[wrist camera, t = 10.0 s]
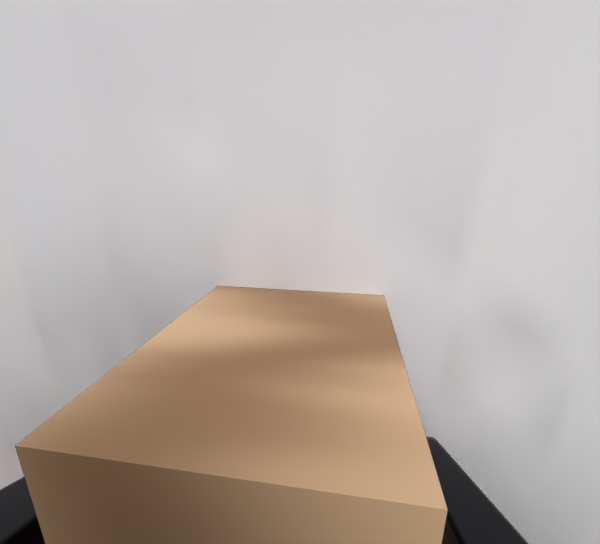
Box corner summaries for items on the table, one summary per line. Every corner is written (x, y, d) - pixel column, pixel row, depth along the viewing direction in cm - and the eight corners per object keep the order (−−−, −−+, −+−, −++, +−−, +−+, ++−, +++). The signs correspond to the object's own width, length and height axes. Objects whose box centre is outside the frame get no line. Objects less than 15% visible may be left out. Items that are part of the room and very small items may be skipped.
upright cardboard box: (383, 294, 7) (448, 510, 2) (367, 492, 9) (386, 848, 4) (218, 284, 8) (13, 446, 3) (232, 473, 9) (113, 766, 5)
